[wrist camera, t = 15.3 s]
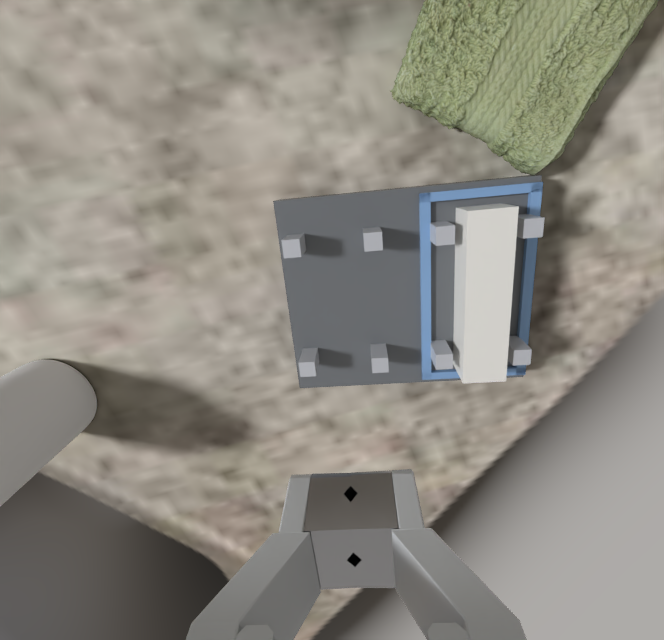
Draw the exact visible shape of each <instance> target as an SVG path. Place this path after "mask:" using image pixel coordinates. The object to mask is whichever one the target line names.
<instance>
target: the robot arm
mask: <svg viewBox="0 0 664 640" xmlns="http://www.w3.org/2000/svg"><path fill="white" fill-rule="evenodd" d="M339 588H396V591H397V593H398V594H399V596H400V598H401V599H402V601H403V602H404V604H405V605H406V607H407V608H408V610H409V612H410V613H411V615H412V617H413V618H414V620H415V621H416V623H417V624H418V626H419V627H420V629H421V631H422V632H423V634H424V635H425V637H426V639H427V640H526V637H525V634H524V631H523V629H522V626H521V623H520V620H519V619H518V618H517V617H516V616H515V615H514V614H513V613H512V612H511V611H510V610H509V609H508V608H507V607H506V606H505V605H504V604H503V603H502V602H501V600H500V599H499V598H498V597H497V596H496V595H495V594H494V593H493V592H492V591H491V590H490V589H489V588H488V587H487V586H486V585H485V584H484V583H483V582H482V581H481V580H480V578H479V577H478V576H477V575H476V574H475V573H474V572H473V571H472V570H471V569H470V568H469V567H468V566H467V565H466V564H465V563H464V562H463V561H462V560H461V559H460V558H459V557H458V555H457V554H456V553H455V552H454V551H453V550H452V549H451V548H450V547H449V546H448V545H447V544H446V543H445V542H444V541H443V540H442V539H441V538H440V537H439V536H438V535H437V534H436V533H435V531H434V530H433V529H432V528H425V527H424V522H423V517H422V512H421V507H420V502H419V497H418V492H417V487H416V482H415V477H414V472H413V471H412V469H407V470H391V471H374V472H356V473H331V474H306V475H292V476H291V478H290V479H289V484H288V489H287V494H286V499H285V503H284V508H283V513H282V518H281V523H280V528H279V533H272V534H271V536H270V537H269V538H268V539H267V540H266V541H265V542H264V543H263V544H262V546H261V547H260V548H259V549H258V550H257V551H256V552H255V553H254V554H253V556H252V557H251V558H250V559H249V560H248V561H247V562H246V563H245V564H244V566H243V567H242V568H241V569H240V570H239V571H238V572H237V573H236V574H235V576H234V577H233V578H232V579H231V580H230V581H229V582H228V583H227V584H226V586H225V587H224V588H223V589H222V590H221V591H220V592H219V593H218V594H217V596H216V597H215V598H214V599H213V600H212V601H211V602H210V603H209V604H208V606H207V607H206V608H205V609H204V610H203V611H202V612H201V613H200V614H199V616H198V617H197V618H196V619H195V620H194V621H193V622H192V624H191V626H190V629H189V633H188V635H187V638H186V640H293V639H294V638H295V636H296V634H297V632H298V631H299V629H300V627H301V626H302V624H303V622H304V620H305V619H306V617H307V615H308V613H309V612H310V610H311V608H312V606H313V605H314V603H315V601H316V599H317V598H318V596H319V594H320V592H321V591H320V589H339Z"/></svg>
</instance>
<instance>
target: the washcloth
mask: <svg viewBox="0 0 664 640" xmlns="http://www.w3.org/2000/svg"><path fill="white" fill-rule="evenodd" d="M657 2H658V0H426V1H424V3H423V7H422V9H421V12H420V14H419V16H418V20H417V24H416V27H415V29H414V30H413V32H412V34H411V39H410V40H409V43H408V48H407V50H406V56H405V57H404V58H403V59H402V62H403V63H402V66H401V68H400V71H399V73H398V75H397V78H396V80H395V81H394V82H395V85H394V89H393V90H391V91H390V92H392V97H393V98H394V100H396V101H397V102H399V104H401V103H402V102H403V103H404V104H405V105H406V106H407V107H411V108H413V109H414V110H420V111H422V113H423V114H424V115H425V116H426V115H427V116H428V117H433V118H435V119H436V120H438V122H439V123H441V124H442V125H443V126H448V129H451V128H456V127H457V128H460V129H461V130H463V131H464V132H466V133H468V134H470V135H471V136H473V137H475V138H479V139H480V140H482V141H483V142H485V143H487V146H488V148H489V149H490V150H491V151H492V152H493V153H495V154H497V155H498V156H499V157H500V156H503V158H504V160H505V161H508V162H509V163H510V164H511V166H513V167H514V168H515V169H517V170H519V171H520V172H521V173H525V174H526V173H527V174H530V175H532V176H533V175H535V174H537V173H538V172H539V171H540V170H542V169H543V168H544V167H545V166H547V165H549V164H550V163H552V162H553V161H555V160H556V159H558V158H559V157H560V156H561V155H562V153H563V152H564V149H565V146H566V144H567V143H568V142H570V141H571V140H572V138H573V137H574V130H575V129H576V128H577V126H578V124H579V123H580V122H581V121H583V120H584V116H585V114H586V112H587V111H588V110H589V107H590V105H591V103H593V102H596V99H597V97H598V94H599V93H600V91H601V90H602V88H603V85H604V84H606V80H607V79H609V78H610V76H611V75H612V74H613V70H614V69H615V68H616V67H617V66H618V63H619V61H620V59H621V58H622V57H623V54H624V52H625V51H626V50H627V48H628V47H629V46H630V44H631V43H632V42H633V41H634V39H635V37H636V36H637V35H638V33H639V30H640V29H641V28H642V27H643V22H644V20H645V19H646V17H647V16H648V15H649V14H650V13H651V12H652V11H653V10H654V9H655V8H656V7H657Z"/></svg>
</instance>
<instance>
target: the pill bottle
mask: <svg viewBox="0 0 664 640" xmlns="http://www.w3.org/2000/svg"><path fill="white" fill-rule="evenodd" d="M96 410H97V399H96V395H95V392H94V390H93V388H92V386H91V384H90V383H89V381H88V380H87V379H86V378H85V377H84V376H83V375H82V374H81V373H80V372H79V371H77V370H76V369H74V368H73V367H71V366H69V365H67V364H65V363H62V362H59V361H55V360H36V361H32V362H29V363H27V364H24V365H22V366H20V367H18V368H16V369H15V370H13V371H11V372H9V373H7V374H5V375H4V376H2V377H0V506H1V505H2V504H3V503H4V502H6V501H7V500H8V499H9V498H10V497H11V496H12V495H13V494H14V493H15V492H16V491H18V490H19V489H20V488H21V487H22V486H23V485H24V484H25V483H26V482H27V481H28V480H30V478H32V477H33V476H34V475H35V474H36V473H37V472H38V471H39V470H40V469H42V468H43V467H44V466H45V465H46V464H47V463H48V462H49V461H50V460H51V459H53V458H54V457H55V456H56V455H57V454H58V453H59V452H60V451H61V450H62V449H63V448H65V447H66V446H67V445H68V444H69V443H70V442H71V441H72V440H73V439H74V438H75V437H77V436H78V435H79V434H80V433H81V432H82V431H83V430H84V429H85V428H86V427H87V426H88V425H89V424H90V422H91V421H92V420H93V418H94V416H95V413H96Z"/></svg>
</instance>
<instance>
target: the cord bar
mask: <svg viewBox="0 0 664 640" xmlns="http://www.w3.org/2000/svg"><path fill="white" fill-rule="evenodd" d="M518 211H519V206H513V205H508V204H502V203H499V204H489V205H478V206H467V207H456V221H455V278H454V335H453V365H454V367H455V369H456V371H457V373H458V375H459V377H460V379H461V381H462V383H481V382H501V381H506V375H507V362H508V348H509V334H510V320H511V307H512V293H513V279H514V266H515V252H516V238H517V224H518Z"/></svg>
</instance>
